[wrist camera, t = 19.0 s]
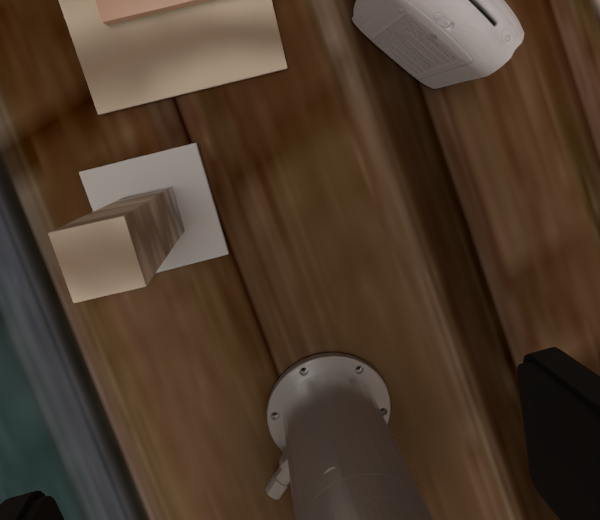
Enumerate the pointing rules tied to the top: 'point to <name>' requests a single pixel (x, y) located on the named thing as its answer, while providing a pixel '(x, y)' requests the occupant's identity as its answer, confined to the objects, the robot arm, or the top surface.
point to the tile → (140, 9)
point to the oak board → (173, 50)
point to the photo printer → (442, 36)
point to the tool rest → (188, 192)
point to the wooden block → (118, 244)
